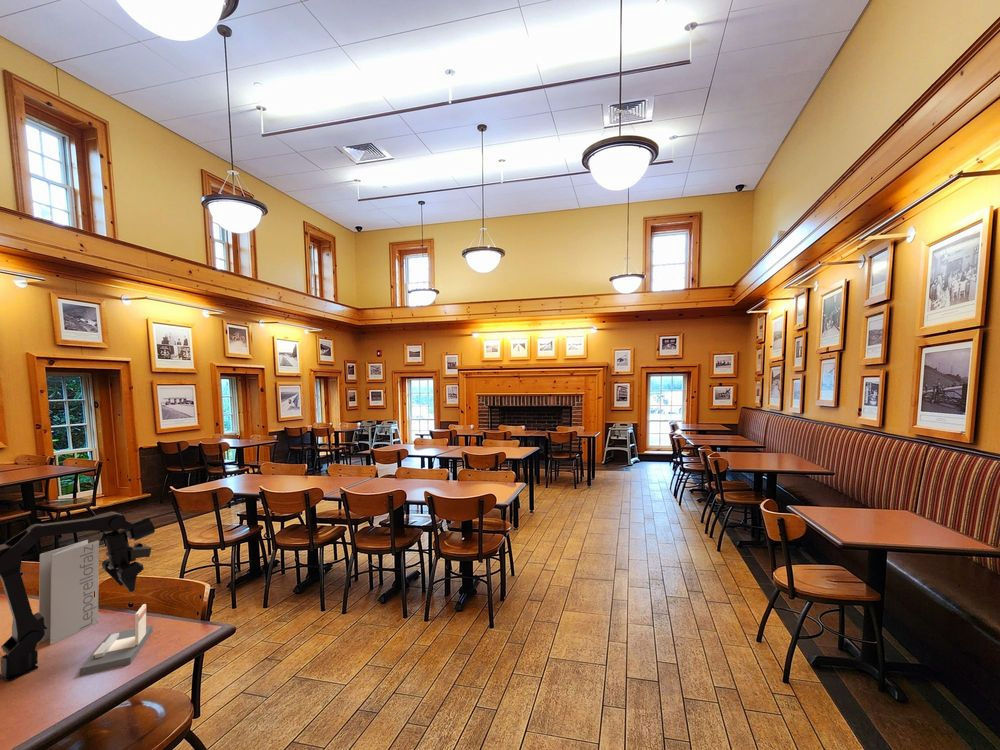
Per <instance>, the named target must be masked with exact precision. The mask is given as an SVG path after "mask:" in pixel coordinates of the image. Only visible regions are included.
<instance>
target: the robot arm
mask: <svg viewBox="0 0 1000 750" xmlns="http://www.w3.org/2000/svg"><path fill="white" fill-rule="evenodd" d="M155 529H156V528H155V525H154V524H153V522H152V520H151V518H150V517H149V516H144V517H142V518H141V519H138V520H135V521H132V522H131V521H128V520H126V517H125V515H124V514H121V513H119V512H116V511H108V512H103V513H101V514H100V513H99V514H97V515H94V516H92V517H91V516H90V517H88V518H87V517H86V518H80V519H72V520H71V519H70V520H64V521H55V522H48V523H35V524H31V525H29V526H28V527H27V528H26V529H24V530H23V531H22V532H20V533H18V534H16V535H14V536H13V537H11V538H10V539H8V540H7V541H5V542H4V543H3V544H0V580H1V584H2V587H3V590H4V594H5V598H6V601H7V604H8V606H9V610H10V613H11V616H12V623H11V635H10V637H9V638H8V639H7V640H6V641H4V643H3V644H2V645H1V650H2V651H3V652H4V653H5V655H2V656H0V657H1V658H0V679H2V680H5V682H11V681H13V680H15V679H18V678H19V677H22V676H24V675H26V674H28V673H30V672H33V671H35V670H38V669H39V666H38V655H39V652H38V650H37V649H36V647H37V645H38V644H39V641H40V640H41V639H42V638H43V637H44V635H45V630H44V629H47V627H46V626H45V625H44V617H43V616H42V615H41V614H40V613H39V611H37V612H35V613H33V610H32V606H31V603H30V601H29V597H28V594H27V591H26V588H25V584H24V581H23V577H22V574H21V570H22V556H23V555H24V554H25V553H27V552H28V551H29V549H31V548H32V547H33V546H34V545H35V544H36V543H37V542H38V541H39V540H40V539H42V538H47V537H53V536H61V535H67V534H75V533H76V534H77V533H81V532H87V531H89V532H90V531H91V532H93V531H95V532H100V534H99V535H98V536H97V537H96V538H95V541H99V543H100V542H103V541H105V542H104V543H105V545H106V546H105V547H106V550H107V551H106V552H105V554H106V556H107V557H108V558H107V559H104V560H103V562H102V563H101V567H102V570H104V571H105V572H106V573H107V574H108V575H109V577H110V578H112V579H113V580H114V581H115V582H116V583H117V584H118V585H119V586H120V587H122V586H124V587H126V588H127V590H128V591H129V592H132V593H133V592H134V591H135V589H136V583H137V576H138V575H139V574H140V573H142V571H144V570H145V569H144V564H143V563H141V562H138V561H137V559H140V558H149V557H151V553H152V547H151V546H148V545H143V543H141V542H136V541H138V540H141V539H144V538H146V537H147V536H151V535H153V534H155V531H156V530H155ZM130 540H133V541H135V542H136V543H135V544H134V545H133V546H131V545H130V544H129V541H130Z"/></svg>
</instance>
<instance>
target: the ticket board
mask: <svg viewBox="0 0 1000 750" xmlns="http://www.w3.org/2000/svg"><path fill="white" fill-rule="evenodd" d="M153 626H154V625H153V624H151V625H146V634H145V636H144V637H143V639H142V640H141V641H140V643H139V644H138V645H135V628H131V629H128V630H122V631H116V632H112V633H108V634H107V636H106V637H105V638H104V639H103V640H102V642H101V643H100V644H99V645H98V647H97V648H96V649H95V650H94V651H93V652H92V653H91V655H90V656H89V657H88V658H87V660H86V661H85V662H84V663H83V664H82V666H81V667H80V668H79V676H82V675H88V674H90V673H91V674H92V673H94V672H99V671H105V670H108V669H114V668H118V667H122V666H127V665H131V664H132V663H133V661H134V660H135V658H136V657H137V655H138V653H139V652H140V651H141V649H142V647H143V646H144V645H145V643H146V641H147V640H148V638H149V637H150V636H151V634H152V632H153V629H154V627H153Z"/></svg>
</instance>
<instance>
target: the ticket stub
mask: <svg viewBox="0 0 1000 750" xmlns="http://www.w3.org/2000/svg"><path fill="white" fill-rule="evenodd" d="M134 619H135V621H134V622H135V626H134V627H135V628H134V629H135V645H138V644H139V643H140V641H141V640H142V639H143V637H144V636H145V634H146V626H147V604H146V603H144V604H141V607H139V609H138V611H137V612H135V618H134Z"/></svg>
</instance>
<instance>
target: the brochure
mask: <svg viewBox="0 0 1000 750" xmlns="http://www.w3.org/2000/svg"><path fill="white" fill-rule="evenodd" d="M99 548H100V541H98V540H95V541H92V542H89V539H86V540H83V541H79V542H75V543H73V544H69V545H66V546H63V547H59V548H56V549H53V550H50V551H45V552H43V553H40V554H39V579H38V580H39V582H38V583H39V584H38V585H39V586H38V589H39V590H38V591H39V592H38V593H39V594H38V613H40V614H41V615H42V616H43V617H44V625H45V626H46V627H47V629H44V630H45V635H44V637H43V638H42V639H41V640H40V641H39V642H38V644H41V643H43V642H45V641H47V640H49V645H53V644H56V643H58V642H60V641H62V640H64V639H65V638H68V637H69V636H72V635H74V634H76V633H78V632H80V631H82V630H84V629H87V628H89V627H90V626H93V625H95V624H96V623H97V624H98V623H99V583H100V582H99V575H100V573H99V571H100V569H99V568H100V567H99V564H100V563H99V561H100V558H99V557H100V556H99V555H100V553H99V552H100V551H99V550H100V549H99ZM94 591H95V597H94Z"/></svg>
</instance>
